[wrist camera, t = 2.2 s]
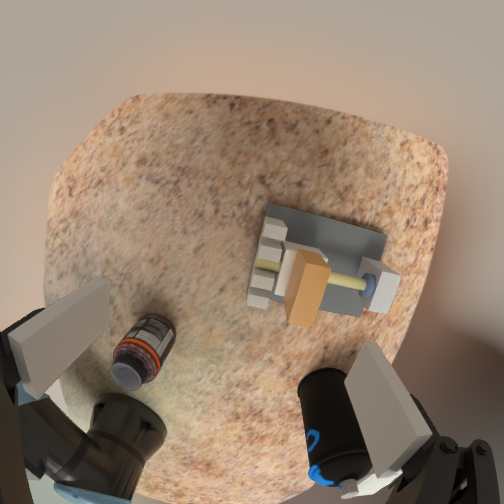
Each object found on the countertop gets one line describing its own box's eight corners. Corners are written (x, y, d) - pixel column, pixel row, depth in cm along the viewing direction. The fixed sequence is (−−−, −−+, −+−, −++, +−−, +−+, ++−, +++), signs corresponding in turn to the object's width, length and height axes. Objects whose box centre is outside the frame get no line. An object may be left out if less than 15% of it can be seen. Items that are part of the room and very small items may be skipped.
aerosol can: (344, 360, 36) (387, 468, 16) (352, 395, 37) (386, 493, 18) (291, 377, 37) (304, 493, 17) (304, 410, 38) (318, 513, 19)
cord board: (247, 289, 34) (242, 318, 26) (268, 202, 31) (269, 206, 24) (356, 312, 34) (377, 342, 26) (382, 233, 32) (413, 246, 24)
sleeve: (272, 281, 29) (275, 320, 21) (283, 237, 28) (292, 259, 19) (307, 289, 30) (323, 329, 21) (319, 246, 28) (343, 271, 19)
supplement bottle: (161, 355, 37) (133, 404, 26) (131, 328, 36) (94, 371, 25) (185, 333, 36) (159, 384, 25) (153, 304, 35) (115, 346, 24)
